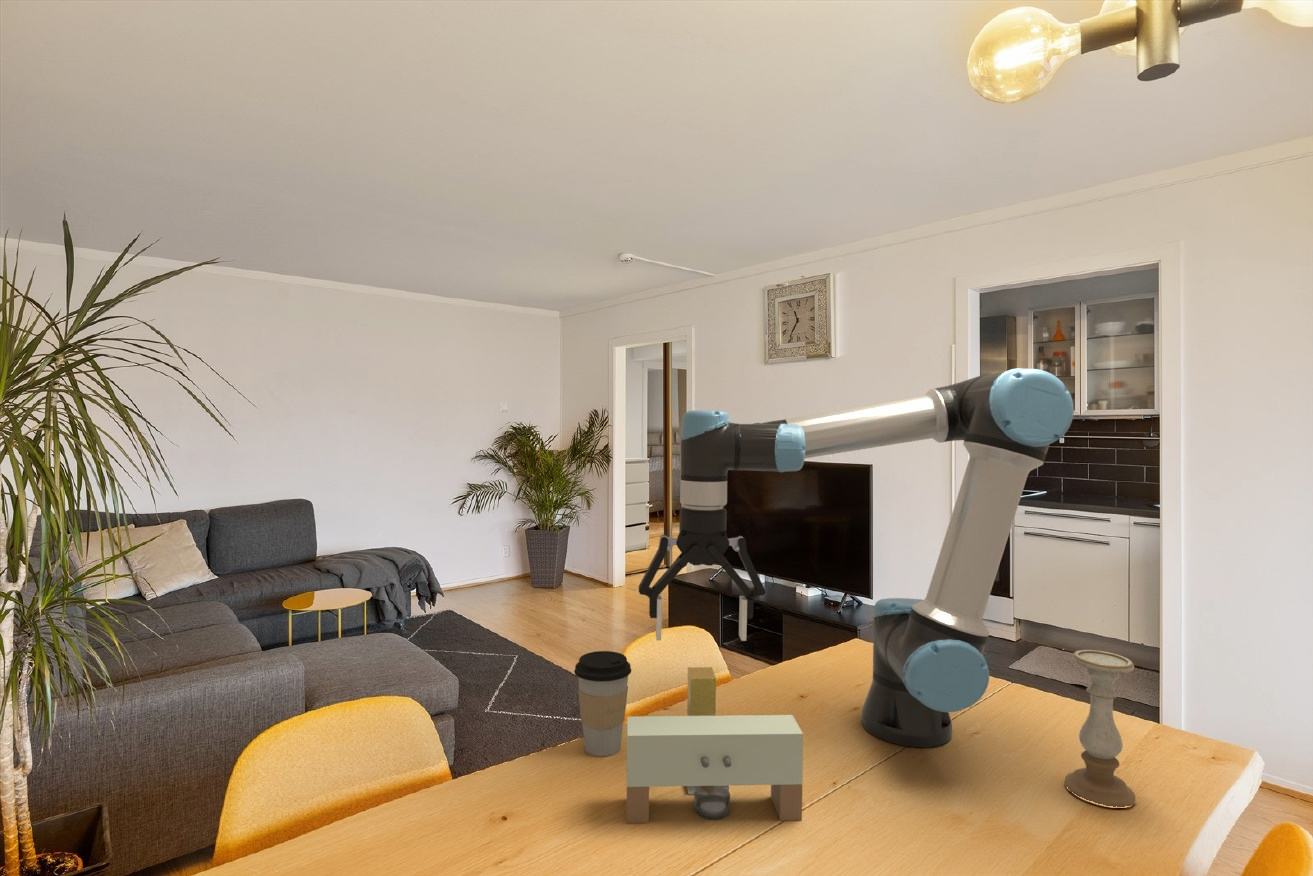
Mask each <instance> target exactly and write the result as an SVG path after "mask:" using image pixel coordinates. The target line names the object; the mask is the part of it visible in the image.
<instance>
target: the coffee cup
mask: <svg viewBox="0 0 1313 876" xmlns="http://www.w3.org/2000/svg"><path fill="white" fill-rule="evenodd" d="M573 672H574V674H575V676H576V677H577V680H578V687H577V688H578V689H577V690H578V702H579V710H580V711H579V712H580V722H581V724H582V733H583V744H584V750H585V751H586V753H588V754H589V755H592V756H593V757H601V758H603V757H609V756H613V755H615V754H616V753H617V754H618V752H619V751H620V749H621V745H622V735H623V727H624V722H625V719H626V709H627V700H628V692H629V691H628V690H629V686H628V680H629V676H630V675H631V673H632V668H631V664H630V662H629V661H628V659H627V656H626V655H625V654H623V653H620V652H618V651H617V652H616V651H609V650H600V651H599V650H598V651H597V650H596V651H591V652H587V653H585V654H583V655H581V656H580V657H579V659H578V662H577V663H576V664H575V666H574V671H573Z"/></svg>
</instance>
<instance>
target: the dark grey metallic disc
mask: <svg viewBox="0 0 1313 876" xmlns="http://www.w3.org/2000/svg"><path fill="white" fill-rule="evenodd" d="M693 796H694V801H693V802H694V803H693V806H694V807H693V808H694V813H695V814H696V815H697V816H698V817H700V818H702V819H704V820H709V821H718V820H719V821H720V820H722V819H725V818H726V817H728V816H729V815H730V812H731V793H730V790H729V791H728V790H727V789H726V788H724V787H722V786H700V787H698V788H697V789H696V790H695V792H694V794H693Z"/></svg>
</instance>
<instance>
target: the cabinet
mask: <svg viewBox="0 0 1313 876" xmlns="http://www.w3.org/2000/svg"><path fill="white" fill-rule="evenodd" d="M626 722H627V723H626V725H627V727H626V733H627V734H626V824H649V823H650V822H649V821H650V787H687V786H722V785H729V786H767V785H769V786H770V798H771V801H772V803H773V806H774V809H775V811H776V813H777V816H778V819H779V821H783V822H784V821H786V822H787V821H802V820H803V777H804V776H803V774H804V773H803V771H804V767H803V765H804V763H803V762H804V761H803V759H804V733H803V731H802V729H801V728H800V726H799V723H798V722H797V721H796V718H795V717H794V715H793V714H764V715H763V714H758V715H755V714H753V715H751V714H750V715H745V714H744V715H741V714H740V715H716V716H687V715H658V716H657V715H655V716H654V715H651V716H644V715H642V716H639V715H638V716H636V715H635V716H627V719H626Z"/></svg>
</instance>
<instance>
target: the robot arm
mask: <svg viewBox="0 0 1313 876" xmlns="http://www.w3.org/2000/svg"><path fill="white" fill-rule="evenodd" d="M1073 419H1074V402H1073V398H1072V395H1071V393H1070V392H1069V390H1068V389H1067V387H1066V385H1065V383H1064V382H1063V381H1062V380H1060V379H1059V378H1058V376H1056V375H1054V374H1052V373H1050V372H1048V371H1046V370H1042V369H1039V368H1038V369H1037V368H1025V367H1017V368H1011V369H1009V370H1006V371H998V372H993V373H992V372H991V373H986V374H982V375H979V376H975V377H973V378H970V379H969V378H968V379H967V380H963V381H960V382H956V383H953V384H949V385H945V386H941V387H936V388H934V387H933V388H930V389H929V390H928V391H927V392H926V393H925V394H924V395H922V396H916V397H909V398H905V399H904V398H903V399H899V400H891V401H885V402H879V403H874V404H868V405H862V406H856V407H850V408H844V409H837V410H831V411H826V412H819V413H814V414H807V415H801V416H796V417H790V418H785V419H779V420H772V421H766V422H754V423H734V422H731V421H730V416H729V413H728V411H725V410H698V409H697V410H692V409H691V410H688V411H686V412H685V413H684V414H683V415H682V421H681V434H680V486H679V487H680V488H679V489H680V490H679V491H680V493H679V495H680V498H679V502H680V504H681V505H683V506H681V508H680V509H679V528H678V529H679V531H678V536H677V537H670V536H667V535H666V534H662V535H660V537H659V542H658V548H657V550H656V552H655V554H654V556H653V558H652V560H651V562H650V563H649V566H648V567H647V569H646V571H645V573H644V576H643V578H642V579H641V581H640V583H639V585H638V593H639V594H640V595H642V596H645V597H648V598H649V602H648V603H649V604H648V605H649V606H648V610H649V611H648V613H649V615H648V616H649V618H650V619H655V639H656V641H662V627H663V626H662V623H663V622H662V620H663V618H662V616H663V614H662V613H663V612H662V611H663V599H662V595H661V594H662V592H663V591H664V590H665V589H666V588H667V587H668V586H669V584H670V583H671V582H672V581H673V579H675V577H676V576H677V575H678V574H679V573H680V572H681V570H683V569H684V568H685V567H686V566H687V565H688V563H689V564H690V565H692V566H701V565H705V566H709V567H710V566H713V565H715V564H717V563H718V564H719V565H720V566H721V568H722V569H723V570H724V571H725V573H726V574H727V575H728V576H729V578H730V579H731V580H732V581H733V583H735V584H736V586H737V587H738V589H739V590H740V591H741V592H742V593H743V595H739V604H738V605H739V615H738V636H739V637H738V638H740V640H741V642H744V641H745V642H746V641H747V631H748V630H747V625H748V624H747V623H748V619H753V617H754V602H755V601H754V600H756V598H757V597H759V596H761V597H762V596H764V595H765V594H766V589H765V587H764V585H763V583H762V581H761V579H760V577H759V574H758V572H757V571H756V568H755V566H754V564H753V561H752V559H751V557H750V555H749V554H748V549H747V548H748V547H747V541H746V538H745V537H743V536H742V535H738V536H736V537H731V538H728V536H727V518H728V517H727V514H728V512H727V509H726V508H725V506H726V505H727V503H728V471H730V470H731V471H754V472H755V471H757V472H759V471H760V472H779V473H784V472H797V471H800V470H801V469H802V468H803V466H804V464H805V459H809V458H811V459H812V458H816V457H823V456H829V455H830V456H831V455H836V454H841V453H848V452H853V451H859V450H867V449H874V448H878V447H879V448H880V447H885V446H892V445H897V444H905V443H910V442H911V443H912V442H916V441H917V442H918V441H923V440H930V439H933V440H934V441H936V442H937V443H946V442H947V443H948V442H953V441H963V443H962V444H963V446H964V448H965V450H966V451H967V453H968V456H969V459H968V461H967V465H966V468H965V472H964V475H963V478H962V481H961V484H960V488H959V489H958V493H957V497H956V501H955V504H954V506H953V510H952V513H951V516H950V520H949V523H948V526H947V529H946V531H945V535H944V539H943V542H942V545H941V548H940V551H939V555H938V558H937V561H936V564H935V568H934V570H933V574H932V577H931V580H930V583H929V586H928V590H927V593H926V596H925V598H924V599H921V598H920V599H919V598H908V597H907V598H904V597H903V598H902V597H897V598H895V597H892V598H890V597H889V598H882V599H879V600H877V601H876V602H875V604H874V606H873V607H874V608H873V614H872V620H873V632H872V633H873V634H872V635H873V636H872V638H873V641H872V642H873V643H872V649H873V651H872V682H871V685H870V687H869V690H868V693H867V696H866V697H865V701H864V703H863V707H862V710H861V724H862V726H863V728H864V729H865V730H866V731H867V732H868V733H869V734H870V735H873V736H874V737H876V738H879V740H882V741H883V740H884V741H886V742H889V743H890V744H891V743H892V744H895V745H900V746H904V747H912V748H931V747H933V748H934V747H938V746H943V745H946V743H949V742H950V740H951V739H952V737H953V722H952V718H951V715H950V713H956V712H961V711H963V710H965V709H968V708H970V707H972V706H974V705H976V703H978V701H980V700H981V699H982V698H983V696H984V694H985V693H986V690H987V689H988V686H989V683H990V682H989V681H990V670H989V667H988V663H987V659H985V657H984V655H983V654H984V652H985V649H986V645H987V643H988V638H989V636H990V632H989V630H988V629H987V626H986V624H985V623H984V621H983V619H984V614H985V611H986V608H987V605H988V602H989V598H990V596H991V592H992V588H993V586H994V583H995V580H996V576H997V573H998V570H999V568H1000V563H1001V560H1002V558H1003V555H1004V551H1005V548H1006V544H1007V542H1008V538H1009V535H1010V533H1011V529H1012V526H1013V523H1014V519H1015V516H1016V514H1017V510H1018V506H1019V505H1020V504H1019V503H1020V501H1021V497H1022V495H1023V492H1024V488H1025V485H1026V482H1027V478H1028V477H1029V476H1028V475H1029V474H1030V472H1031V471H1033V470H1035V469H1037V468H1039V467H1041V466H1043V465H1044V463H1045V459H1046V455H1047V453H1048V450H1049V447H1050V444H1053V443H1055V442H1057V441H1058V440H1059V439H1061V438H1063V436H1065V434H1066V433H1067V431H1069V429H1070V427H1071V424H1072V422H1073ZM674 546H677V548H678V550H679V551H680V554H679V555H678V556H677V557H676V559H675V560H674V561H673V563H672V564H671V565H669V567H668V568H667V569H666V571H665V572H664V573H663V574H662V575H661V576H660V577H659V578H658V580H656V582H655V583H654V584H653V585H652V587H650V586H651V584H652V582H653V581H654V578H655V576H656V574H657V572H658V571H659V568H660V567H661V564H662V563H663V561H664V559H665V557H666V556H667V552H670V551H671V550H673V549H672V548H673V547H674ZM729 546H731V547H732V549H733V550H734V551H735V552H737V554H738V555H739V559H740V560H741V563H742V565H743V566H744V567H743V568H745V571H746V573H747V575H748V577H749V579H750V581H751V584H752V587H750V588H749V586H748V584H747V583H746V582H745V581H744V580H743V578H742V577H741V576H740V575H739V573H738V572H737V571H736V570H735V568H733V567H732V565H731V564H730V562H728V560H727V559H726V558H725V556H724V554H725V553H726V551H727V550H728V548H729Z"/></svg>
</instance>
